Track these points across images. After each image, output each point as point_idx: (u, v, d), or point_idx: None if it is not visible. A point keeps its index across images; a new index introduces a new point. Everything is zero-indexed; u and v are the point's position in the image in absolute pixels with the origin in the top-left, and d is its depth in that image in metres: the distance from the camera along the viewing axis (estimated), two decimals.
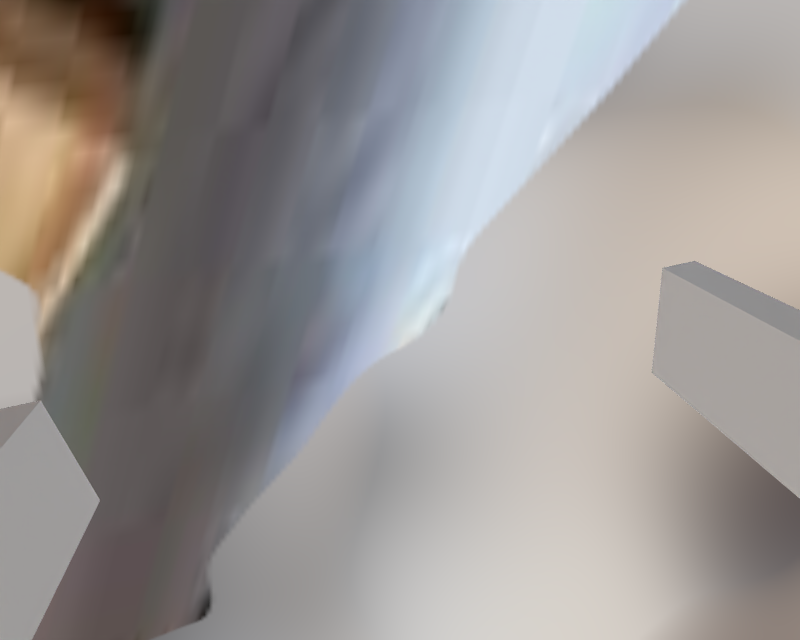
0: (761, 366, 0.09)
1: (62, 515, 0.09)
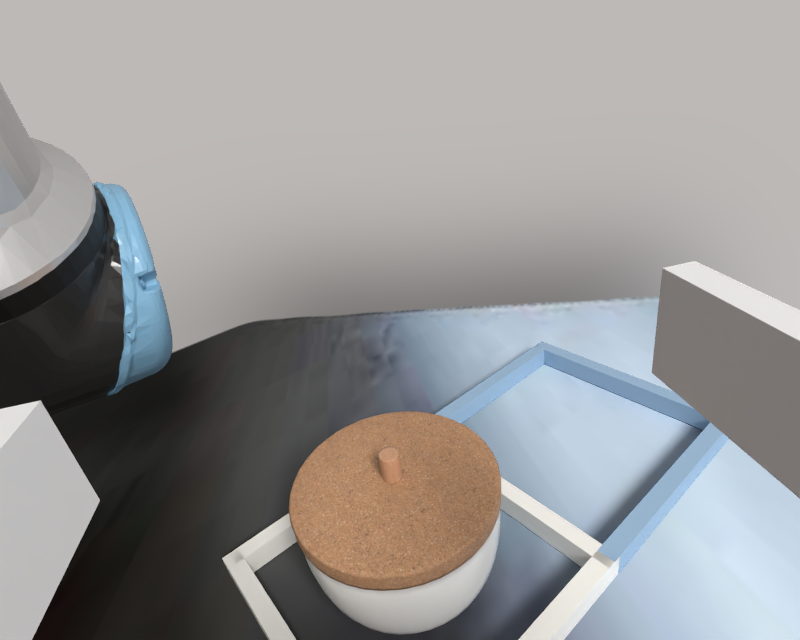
0: (761, 366, 0.09)
1: (62, 515, 0.09)
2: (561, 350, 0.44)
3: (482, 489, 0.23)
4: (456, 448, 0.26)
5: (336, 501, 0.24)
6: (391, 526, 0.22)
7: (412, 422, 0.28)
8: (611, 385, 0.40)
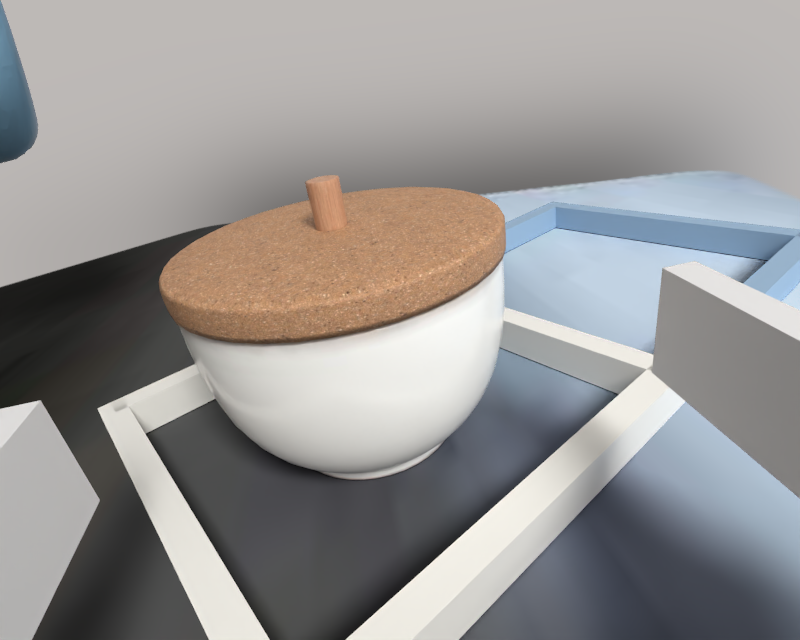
0: (761, 367, 0.09)
1: (62, 515, 0.09)
2: (577, 205, 0.35)
3: (474, 220, 0.14)
4: (434, 199, 0.17)
5: (236, 252, 0.15)
6: (318, 259, 0.13)
7: (371, 192, 0.19)
8: (645, 231, 0.31)
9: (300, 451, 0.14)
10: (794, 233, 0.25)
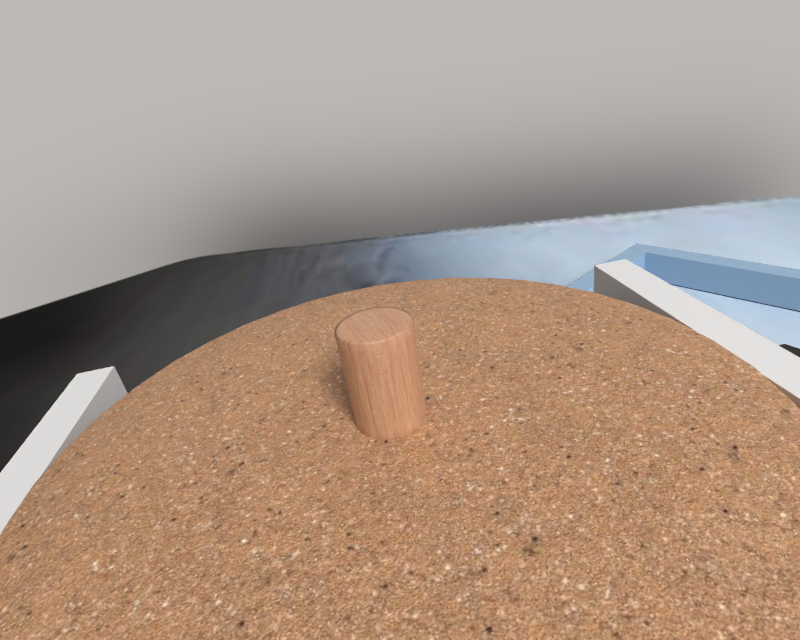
0: None
1: None
2: (676, 251, 0.26)
3: (768, 451, 0.06)
4: (594, 335, 0.08)
5: (169, 505, 0.06)
6: (384, 632, 0.04)
7: (443, 292, 0.11)
8: (787, 295, 0.22)
9: None
10: None
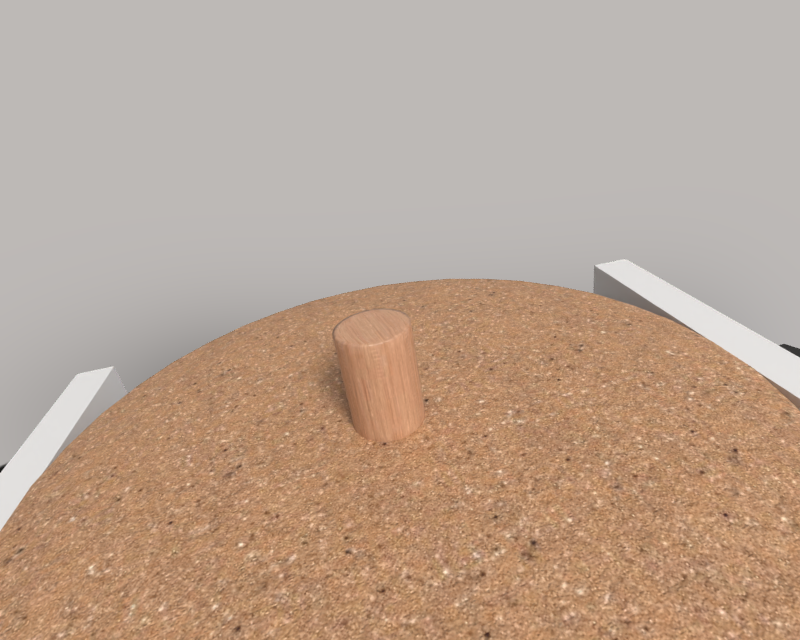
0: None
1: None
2: None
3: (769, 454, 0.06)
4: (594, 336, 0.08)
5: (166, 509, 0.06)
6: (382, 637, 0.04)
7: (442, 293, 0.11)
8: None
9: None
10: None
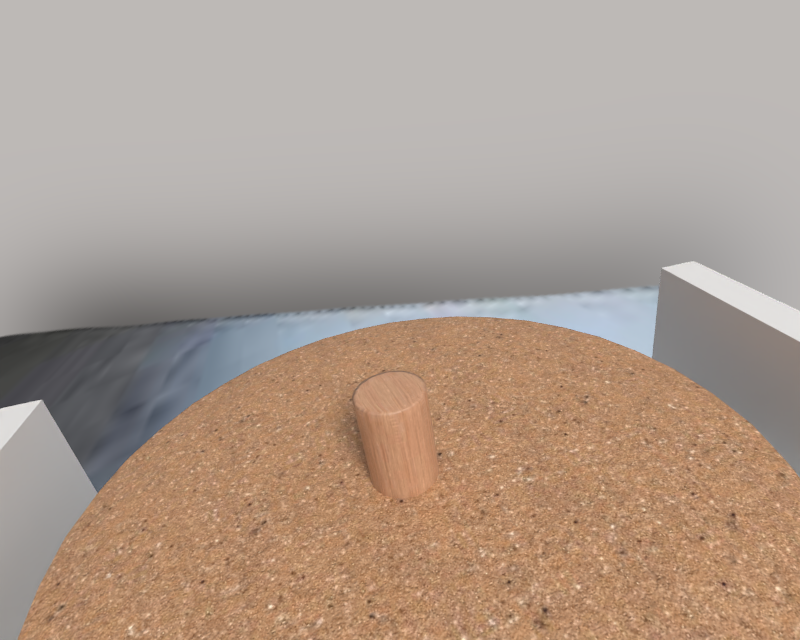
0: (759, 366, 0.09)
1: (63, 514, 0.09)
2: None
3: (765, 519, 0.06)
4: (599, 387, 0.08)
5: (197, 567, 0.06)
6: None
7: (450, 334, 0.11)
8: None
9: None
10: None
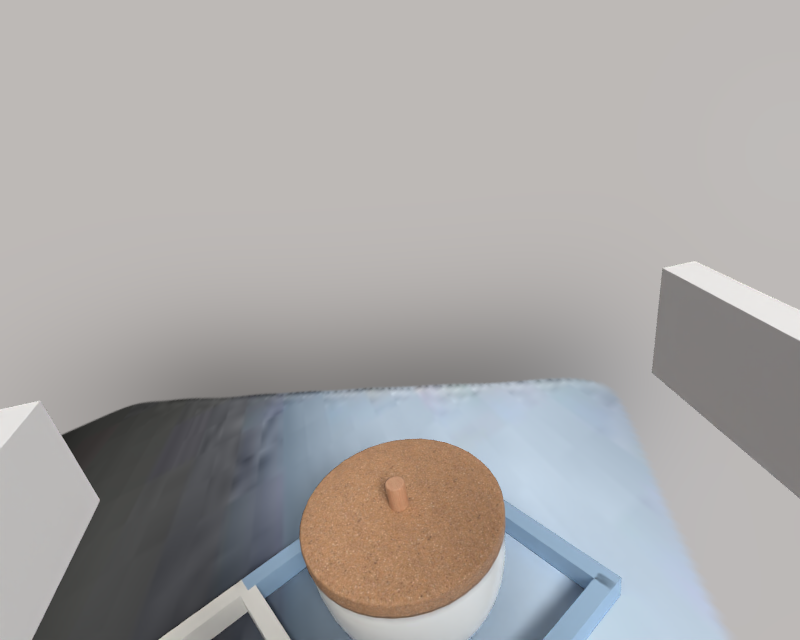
0: (761, 366, 0.09)
1: (62, 515, 0.09)
2: None
3: (486, 516, 0.24)
4: (460, 475, 0.27)
5: (345, 530, 0.25)
6: (399, 554, 0.23)
7: (417, 449, 0.29)
8: None
9: None
10: (594, 572, 0.27)
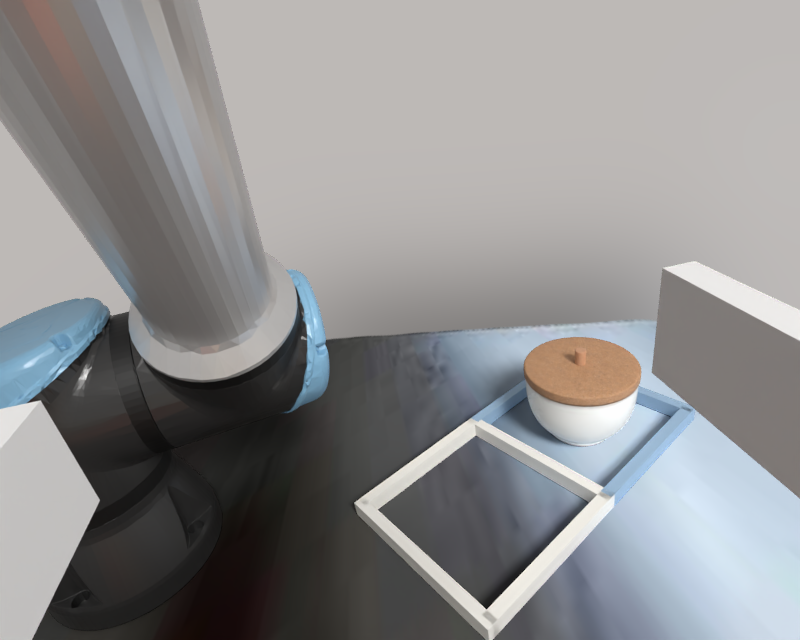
0: (761, 366, 0.09)
1: (62, 515, 0.09)
2: None
3: (631, 365, 0.47)
4: (609, 350, 0.49)
5: (555, 373, 0.47)
6: (591, 380, 0.45)
7: (578, 341, 0.52)
8: None
9: (580, 435, 0.46)
10: (680, 405, 0.50)
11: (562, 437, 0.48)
